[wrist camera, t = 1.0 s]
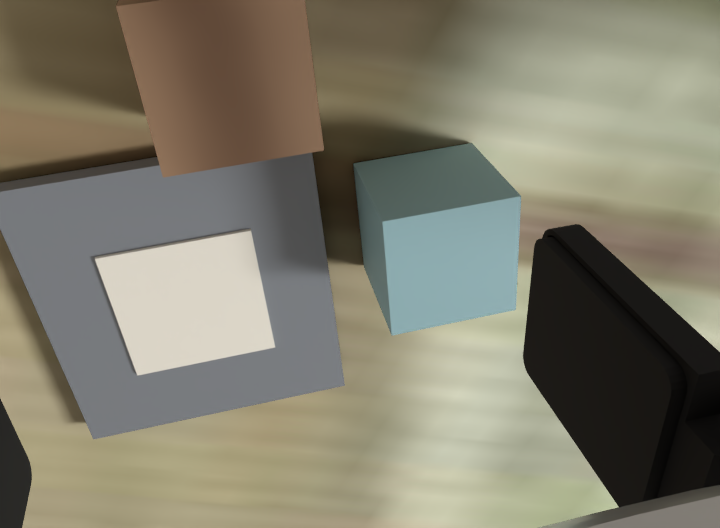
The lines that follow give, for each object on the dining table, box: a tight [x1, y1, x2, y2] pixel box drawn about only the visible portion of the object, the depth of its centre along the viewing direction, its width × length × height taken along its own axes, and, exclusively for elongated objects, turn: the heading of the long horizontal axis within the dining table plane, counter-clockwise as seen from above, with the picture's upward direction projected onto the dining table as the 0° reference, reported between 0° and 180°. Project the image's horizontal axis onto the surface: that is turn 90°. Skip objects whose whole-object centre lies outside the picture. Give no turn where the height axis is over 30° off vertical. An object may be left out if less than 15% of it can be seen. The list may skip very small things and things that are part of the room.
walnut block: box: [116, 0, 324, 178], centre depth 26 cm, size 6×6×6 cm
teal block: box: [353, 143, 521, 335], centre depth 32 cm, size 6×6×6 cm
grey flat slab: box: [0, 153, 345, 439], centre depth 34 cm, size 14×15×1 cm
